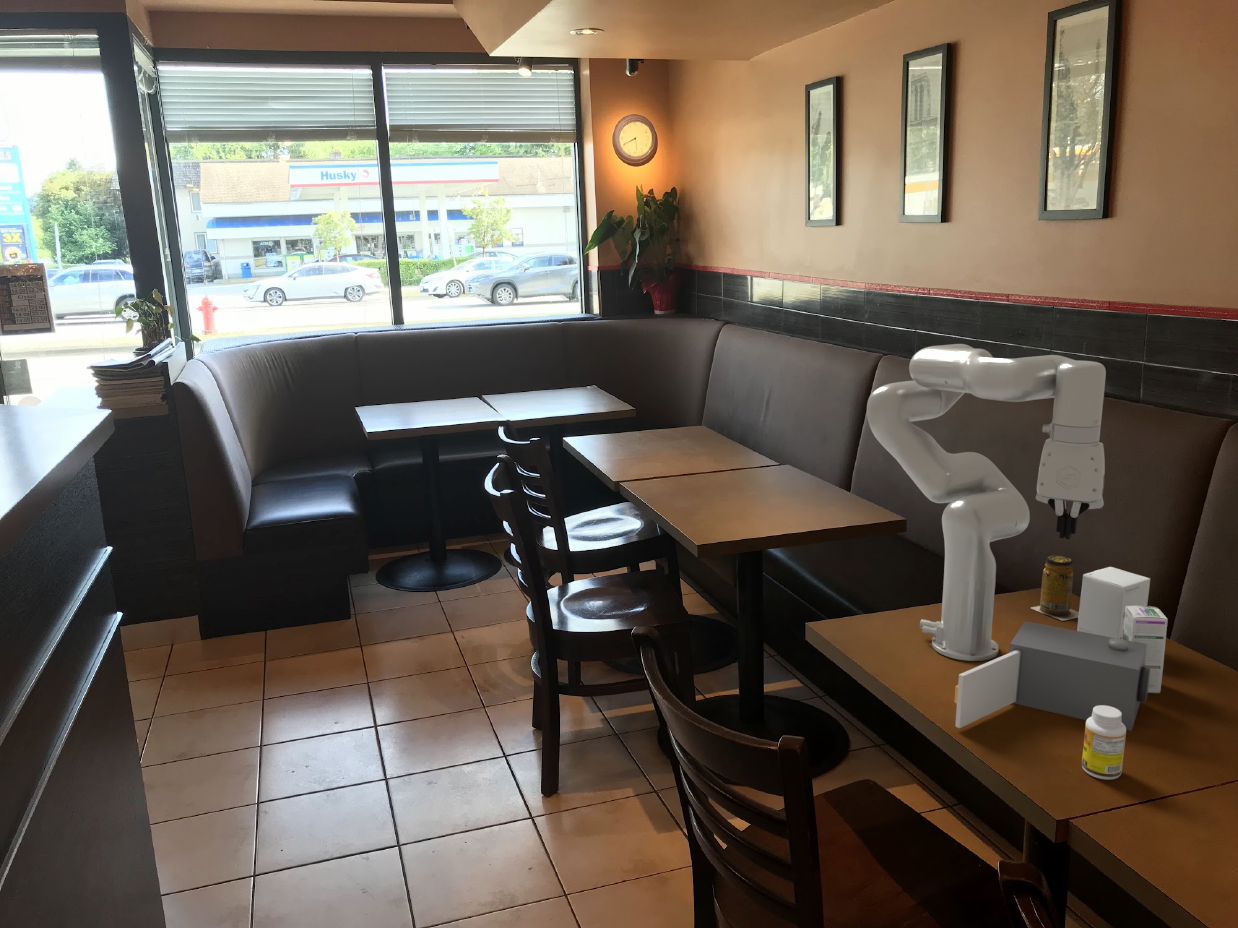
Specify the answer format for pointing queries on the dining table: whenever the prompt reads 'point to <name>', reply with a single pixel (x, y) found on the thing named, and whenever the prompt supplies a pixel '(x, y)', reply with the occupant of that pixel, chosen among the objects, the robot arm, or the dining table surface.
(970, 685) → the side door
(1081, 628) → the supplement box
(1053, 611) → the condiment
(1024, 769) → the dining table surface
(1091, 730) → the supplement bottle
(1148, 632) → the syrup box
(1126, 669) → the box
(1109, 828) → the dining table surface
